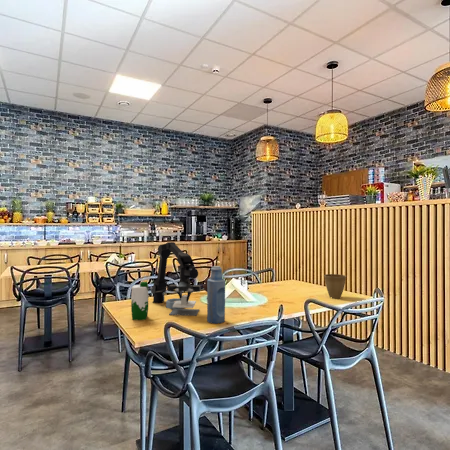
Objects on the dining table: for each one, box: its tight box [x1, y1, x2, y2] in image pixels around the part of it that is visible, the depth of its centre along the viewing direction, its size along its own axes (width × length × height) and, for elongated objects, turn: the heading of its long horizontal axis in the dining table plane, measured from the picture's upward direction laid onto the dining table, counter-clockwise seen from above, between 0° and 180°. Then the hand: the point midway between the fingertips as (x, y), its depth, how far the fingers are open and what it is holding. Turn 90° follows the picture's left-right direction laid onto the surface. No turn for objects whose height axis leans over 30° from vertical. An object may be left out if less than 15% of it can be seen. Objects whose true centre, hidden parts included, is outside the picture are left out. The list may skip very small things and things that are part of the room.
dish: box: [165, 297, 181, 310], centre depth 212 cm, size 11×11×4 cm
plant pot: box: [323, 273, 347, 299], centre depth 241 cm, size 15×15×16 cm
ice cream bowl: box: [202, 276, 211, 293], centre depth 235 cm, size 11×11×15 cm
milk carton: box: [130, 281, 149, 321], centre depth 187 cm, size 9×9×20 cm
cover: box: [173, 294, 197, 309], centre depth 199 cm, size 12×12×5 cm
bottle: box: [206, 265, 226, 325], centre depth 182 cm, size 10×10×30 cm
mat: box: [169, 308, 200, 317], centre depth 199 cm, size 16×12×1 cm
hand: (184, 302), depth 199 cm, fingers closed on cover, 3 cm apart
